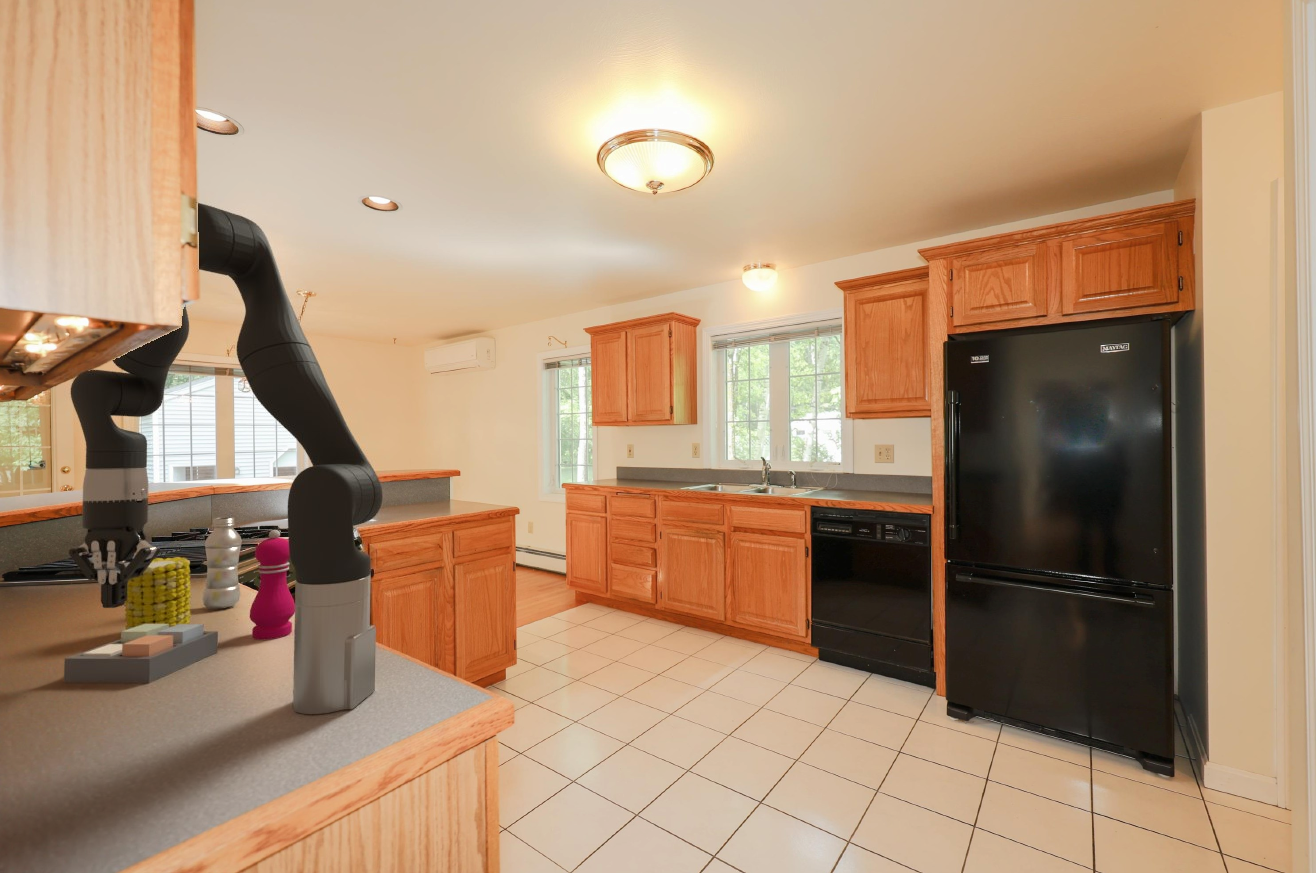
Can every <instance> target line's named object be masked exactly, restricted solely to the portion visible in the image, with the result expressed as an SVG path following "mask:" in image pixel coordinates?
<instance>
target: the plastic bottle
mask: <svg viewBox="0 0 1316 873" xmlns="http://www.w3.org/2000/svg"><path fill="white" fill-rule="evenodd" d="M212 521H213V523H212V527H213V528H214V529H213V531H211V533H210V534H209V535H208V537H206V540H205V542H204V547H205V554H206V566H207V568H206V569H207V572H206V573H207V575H206V580H205V588H204V591H203V595H202V602H203V603H202V604H203V605H204V607H205V608H206V609H212V610H213V609H217V610H221V609H225V608H228V607H229V608H230V607H232V606H235V605H236V604H237V603H238V602H239V601H240V598H241V597H240V596H241V590H240V589H241V588H240V585H239V574H238V573H239V572H238V571H239V569H238V568H239V565H238V564H239V560H240V559H239V558H240V553H241V549H242V542H243V539H242V536H241V535H240V534H239V532H238V531H236V529H234V527H235V526H236V523H235V517H216V518H213V520H212Z"/></svg>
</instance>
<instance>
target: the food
mask: <svg viewBox="0 0 1316 873" xmlns="http://www.w3.org/2000/svg"><path fill="white" fill-rule="evenodd" d="M190 564H191V561H190V560H189V559H188V558H186V557H180V556H175V557H172V558H171V557H167V558H161V557H159V558H158V557H155V558H154V560H153V561H152V562H151V563H150V565H149V566H148V567H147V569H146V570H145V571H144V572H143V574H142V575H141V576H140V577H135V578H132V579H130V580H129V581H128V583H127V600H126V602H125V604H124V605H123V606H124V607H125V610H124V611H125V622H126V625H125V626H124V627H125V630H127V629H131V628H134V627H137V626H140V625H143V624H169V627H172V626H175V625H178V624H190V622H191V616H192V614H191V612H192V611H191V610H190V609H191V605H190V603H191V600H192V599H191V598H190V597H191V596H192V593H191V589H192V587H191V584H192V583H191V581H190V580H191V575H190V574H191V570H190V569H191V568H190Z"/></svg>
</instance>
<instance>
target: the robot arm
mask: <svg viewBox="0 0 1316 873" xmlns="http://www.w3.org/2000/svg"><path fill="white" fill-rule="evenodd" d="M197 203H198V232H199V270H198V271H203V272H209V273H213V274H219V275H223V276H228V277H229V278H230V279H232V281H233V282H234V284H235V285H236V287H237V289H238V292H239V293H240V296H241V299H242V301H243V304H244V309H245V314H244V318H243V322H242V324H241V328H240V331H239V333H238V338H237V342H236V356H237V360H238V362H239V365H240V367H241V370H242V372H243V374H244V376H245V378H246V380H247V383H248V385H249V387H250V389H251V391H252V393H253V394H254V397H255V398H256V399H257V401H258V403H260V405H261V406H262V407H263V408H264V409H265V410H266V411H267V413H269V414H270V415H271V416H272V417H273V419H275V420H276V421H277V422H278V423H279V424H280V425H281V426H282V427H283V428H284V429H285V430H286V431H288V432H289V433H290V434H291V436H293V437H294V438H295V439H296V441H298V443H299V444H300V446H301V447H302V448H303V450H304V451H305V453H306V455H307V456H308V459H309V461H310V462H311V464H312V466H309V467H306V468H305V469H303V470H302V471H300V472H299V473H298V474H297V476H296V477H295V478H294V479H293V480H292V484H291V486H290V489H289V493H288V498H287V533H288V541H289V555H290V558H289V559H290V561H291V564H292V566H293V567H294V571H295V587H294V588H295V589H294V590H295V591H294V592H295V593H294V596H295V597H294V603H295V613H294V635H293V636H294V638H293V639H294V642H293V643H294V645H293V687H292V688H293V690H292V696H293V697H292V709H293V710H294V711H295V712H297V713H300V714H305V715H320V714H328V713H333V712H339V711H343V710H352V709H354V708H355V707H357V706H358V705H360V703H362V702H363V701H364V700H365V699H367V698H368V697H369V696H370V695H371V694H372V693H374V692H375V690H376V651H377V650H376V648H377V646H376V643H377V642H376V639H377V632H376V631H377V627H376V626H375V625H373V624H370V623H371V619H370V618H371V616H370V615H371V571H372V569H371V568H372V562H371V561H372V560H371V557H370V555H369V554H368V553H366V552H365V551H361V550H359V548H357V547H356V544H355V537H354V536H355V535H354V532H355V531H354V526H358V525H362V524H366V523H367V522H369V521H372V519H374V518H375V516H377V515H378V513H379V511H380V509H381V507H382V504H383V489H382V488H383V487H382V485H381V481H380V478H379V477H378V474H377V473H376V471H375V469H374V468H373V466H372V464H371V463H370V461H369V460H368V458H367V456H366V455H365V453H364V452H363V450H362V448H361V447H360V445H359V443H358V442H357V441H356V439H355V437H354V435H353V434H352V432H351V430H350V428H349V426H348V424H347V422H346V421H345V419H344V416H343V414H342V412H341V411H342V410H340V407H339V405H338V403H337V401H336V399H335V397H334V395H333V392H332V391H331V389H330V387H329V385H328V382H327V380H326V377H325V375H324V372H323V370H322V368H321V366H320V364H319V362H318V359H317V358H316V355H315V352H314V350H313V348H312V346H311V345H310V343H309V341H308V339H307V337H306V335H305V333H304V331H303V328H302V326H301V325H300V322H299V320H298V317H297V315H296V313H295V310H294V308H293V306H292V304H291V302H290V299H289V297H288V294H287V292H286V288H285V285H284V283H283V280H282V277H281V274H280V271H279V268H278V267H279V266H278V264H277V261H276V258H275V256H274V253H273V249H272V247H271V244H270V241H269V240H268V238H267V236H266V234H265V232H264V231H263V229H262V228H261V227H260V226H259V225H258V224H257V223H256V222H254V221H253V220H251V219H249V218H246V217H244V216H242V215H241V214H236V213H232V212H229V211H227V210H223V209H221V208H217V207H215V206H212V205H209V204H208V205H207V204H205V203H204V204H203V203H200V202H197ZM189 334H190V321H189V315H188V311H187V307H186V305H185V307H184V309H183V316H182V326H181V328H179V329H177V330H175V331H172V332H170V333H169V334H167V335H164V336H162V337H160V338H158V339H156V340H154V341H151V342H150V343H147V344H145V345H143V346H142V347H139V348H137V349H135V350H133V351H130V352H128V353H127V354H125V355H123V356H121V357H120V358H116V359H115V360H112V359H111V360H112V362H113V364H115V366H116V367H117V368H119V369H121V370H122V371H124V372H121V371H111V370H103V369H87V370H85V371H81V372H80V373H79V374H78V375H77V376H76V377H75V378H74V379H73V381H72V384H71V385H70V386H71V387H70V398H71V402H72V405H73V408H74V410H75V412H76V415H77V418H78V421H79V423H80V427H81V430H82V434H83V436H84V441H85V470H84V471H85V474H84V477H83V483H82V508H81V509H82V511H81V513H82V516H81V526H82V528H83V529H86V530H87V532H86V533H85V534H86V535H85V536H84V539H83V541H84V542H83V543H81V545H79V546H78V547H73V548H70V549H69V550H68V554H69V556H70V558H71V559H72V561H74V563H75V564H76V566H77V567H78V568H79V570H80V571H81V572H82V574H83V576H85V578H86V579H87V580H88V581H96V582H98V584H99V585H100V603H101V604H102V608H103V609H114V608H119V607H122V606H124V604H125V602H127V601H126V600H127V583H128V581H129V580H130V579H132V578H135V577H140V576H141V575H142V574H143V572H144V571H145V570H146V569H147V567H148V566H149V565H150V563H151V562H152V561H153V560H154V559H156V558H157V556H158V555H159V553H160V552H161V547H160V546H159V545H154V546H153V545H151V544H150V543H149V542H148V541H146V540H147V535H146V533H145V531H144V527H145V525H146V524H148V521H149V518H148V517H149V476H148V470H147V469H148V441H147V437H146V436H145V435H144V434H143V433H141V432H137V431H132V430H127V429H123V428H120V427H119V426H118V425H117V424H116V423H115V422H114V419H113V417H112V416H115V417H129V418H130V417H135V418H142V417H147V416H150V415H151V414H154V413H155V412H156V411H157V410H158V409H160V408H161V406H162V404H163V401H164V395H165V387H166V383H167V379H168V374H169V371H170V367H171V366H172V364H173V363H174V362H175V360H176V359H177V357H178V355H179V354H180V352H181V351H182V349H183V348H184V346H185V344H186V342H187V340H188V337H189ZM88 370H90V371H88Z"/></svg>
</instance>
